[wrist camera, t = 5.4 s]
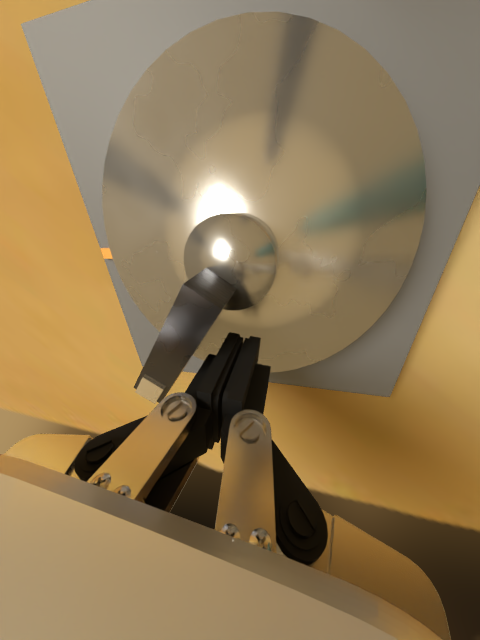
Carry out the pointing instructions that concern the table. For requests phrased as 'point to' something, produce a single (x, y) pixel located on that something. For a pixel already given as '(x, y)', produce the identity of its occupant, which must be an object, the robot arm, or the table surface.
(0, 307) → the table surface
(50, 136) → the table surface
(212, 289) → the dial
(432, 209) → the dial plate
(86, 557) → the robot arm
